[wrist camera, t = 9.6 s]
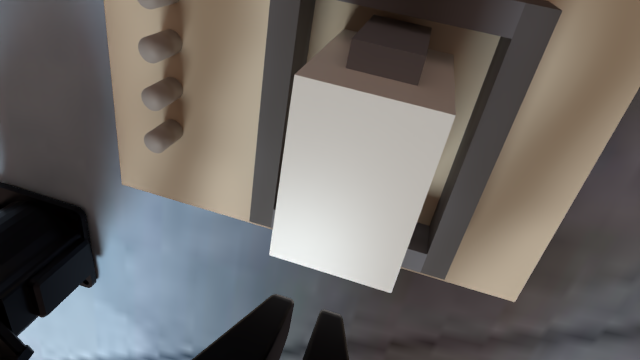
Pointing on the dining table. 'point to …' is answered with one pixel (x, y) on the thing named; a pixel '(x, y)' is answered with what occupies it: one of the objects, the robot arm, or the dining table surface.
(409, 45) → the plug
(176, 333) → the dining table surface
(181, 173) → the header board
